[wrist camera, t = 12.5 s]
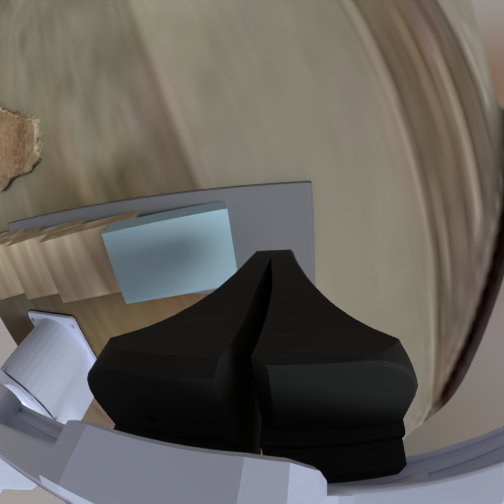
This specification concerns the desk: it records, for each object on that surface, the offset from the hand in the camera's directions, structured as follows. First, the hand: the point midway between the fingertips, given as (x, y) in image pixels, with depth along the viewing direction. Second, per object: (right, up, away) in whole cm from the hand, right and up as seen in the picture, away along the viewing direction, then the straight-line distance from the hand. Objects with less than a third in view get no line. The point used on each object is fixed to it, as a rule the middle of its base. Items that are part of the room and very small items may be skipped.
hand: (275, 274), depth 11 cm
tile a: (-8, +1, +7) cm, 10 cm away
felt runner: (-10, +1, +9) cm, 13 cm away
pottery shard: (-23, +11, +6) cm, 27 cm away
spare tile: (-2, +1, +6) cm, 7 cm away
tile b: (-12, +1, +8) cm, 14 cm away
